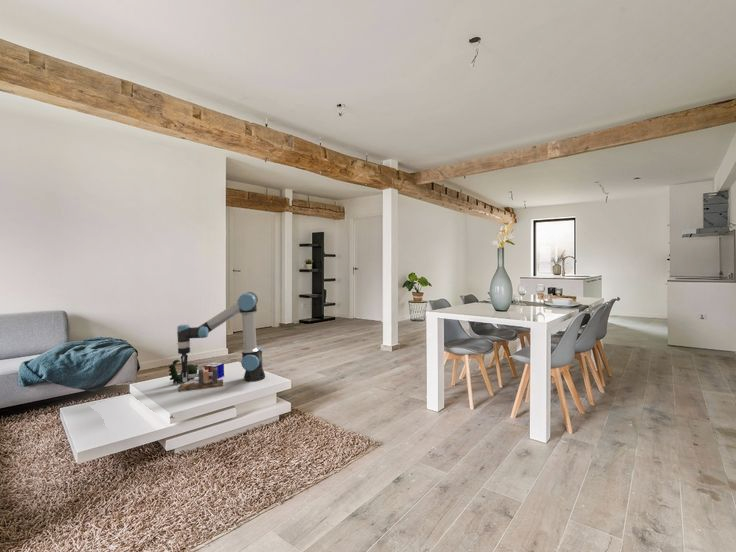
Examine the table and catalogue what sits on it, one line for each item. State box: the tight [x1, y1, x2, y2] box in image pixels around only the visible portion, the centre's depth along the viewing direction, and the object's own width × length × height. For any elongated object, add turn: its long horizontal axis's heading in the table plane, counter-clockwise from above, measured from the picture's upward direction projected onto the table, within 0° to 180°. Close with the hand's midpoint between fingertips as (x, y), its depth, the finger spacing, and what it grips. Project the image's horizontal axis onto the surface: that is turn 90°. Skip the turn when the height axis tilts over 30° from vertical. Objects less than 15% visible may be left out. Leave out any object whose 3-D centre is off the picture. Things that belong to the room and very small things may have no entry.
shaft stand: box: [177, 368, 224, 393], centre depth 267 cm, size 28×12×11 cm, turn 110°
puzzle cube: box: [203, 362, 225, 381], centre depth 287 cm, size 10×10×10 cm
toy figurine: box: [168, 359, 199, 385], centre depth 279 cm, size 9×19×25 cm
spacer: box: [203, 370, 209, 382], centre depth 268 cm, size 3×6×6 cm, turn 20°
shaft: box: [180, 369, 213, 381], centre depth 266 cm, size 22×3×7 cm, turn 110°
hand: (185, 380), depth 263 cm, fingers closed on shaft, 3 cm apart
